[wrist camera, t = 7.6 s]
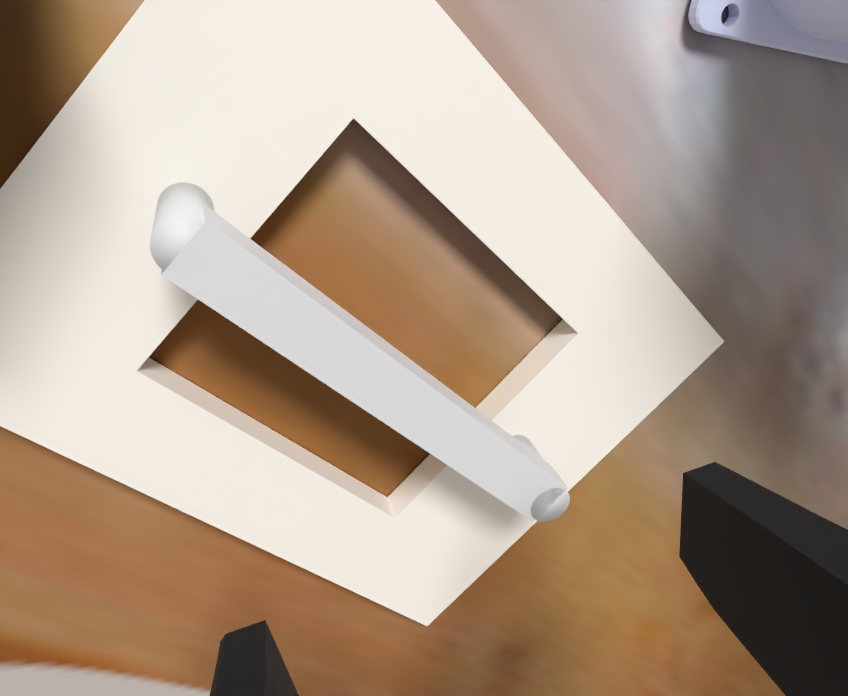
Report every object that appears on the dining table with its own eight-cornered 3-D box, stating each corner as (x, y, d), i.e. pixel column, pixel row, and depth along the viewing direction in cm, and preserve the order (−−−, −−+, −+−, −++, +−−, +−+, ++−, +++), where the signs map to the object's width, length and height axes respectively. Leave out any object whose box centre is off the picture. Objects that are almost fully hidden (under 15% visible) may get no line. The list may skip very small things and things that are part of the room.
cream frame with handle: (704, 328, 22) (784, 382, 19) (419, 604, 25) (450, 691, 22) (277, -170, 13) (300, -214, 10) (-116, 342, 16) (-192, 430, 13)
